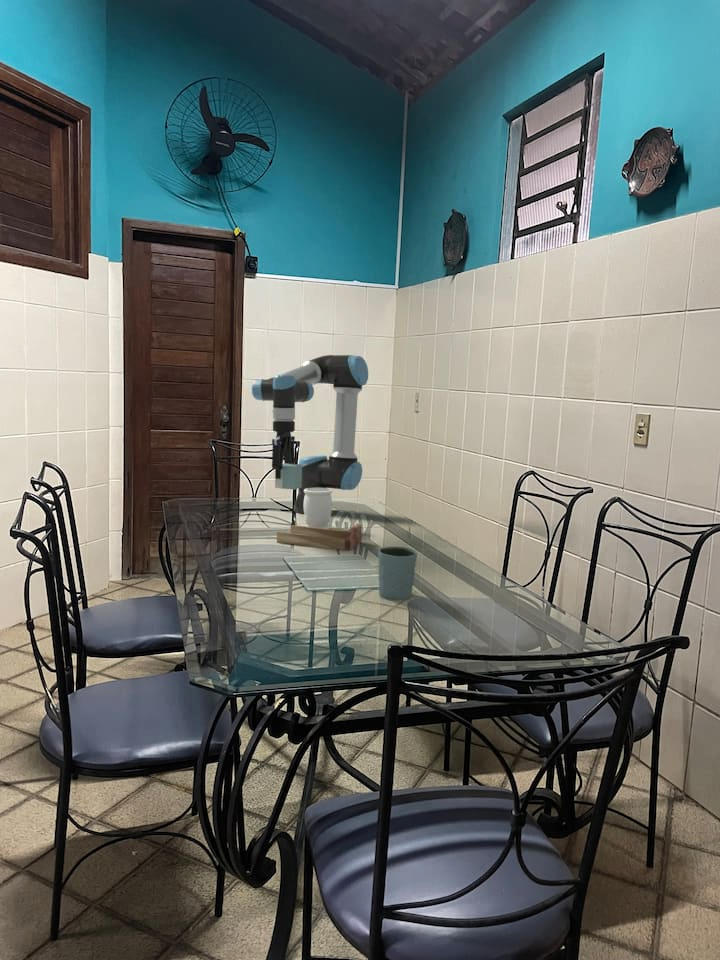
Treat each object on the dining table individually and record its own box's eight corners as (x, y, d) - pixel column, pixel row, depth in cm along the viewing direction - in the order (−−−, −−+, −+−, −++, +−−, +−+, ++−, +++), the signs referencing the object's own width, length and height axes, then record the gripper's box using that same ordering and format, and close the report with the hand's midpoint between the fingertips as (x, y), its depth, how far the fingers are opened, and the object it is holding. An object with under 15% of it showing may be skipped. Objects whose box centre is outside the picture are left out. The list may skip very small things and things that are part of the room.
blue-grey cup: (377, 588, 187) (378, 545, 185) (414, 590, 187) (416, 546, 185) (376, 600, 177) (378, 555, 175) (416, 602, 177) (418, 556, 175)
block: (285, 485, 244) (285, 463, 243) (301, 487, 243) (301, 464, 241) (278, 488, 239) (278, 465, 237) (294, 489, 237) (295, 466, 236)
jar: (314, 533, 249) (315, 492, 246) (297, 528, 256) (298, 488, 254) (337, 530, 255) (338, 490, 253) (320, 525, 263) (320, 486, 261)
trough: (291, 534, 246) (292, 518, 245) (361, 542, 238) (361, 525, 237) (276, 542, 235) (276, 525, 234) (348, 550, 227) (349, 532, 226)
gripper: (285, 418, 248) (285, 481, 251) (261, 421, 230) (261, 489, 234) (304, 419, 246) (304, 483, 249) (282, 422, 228) (281, 491, 231)
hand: (283, 486), depth 241 cm, fingers closed on block, 6 cm apart
